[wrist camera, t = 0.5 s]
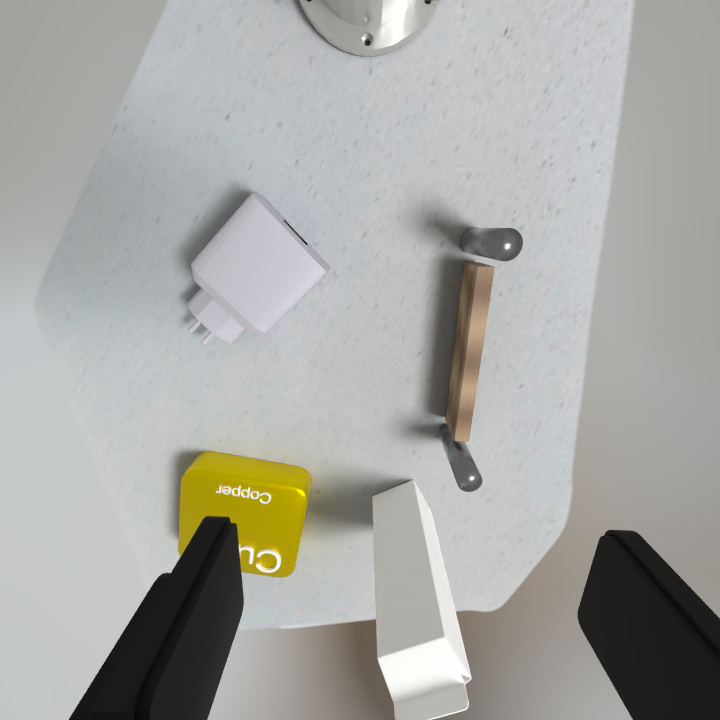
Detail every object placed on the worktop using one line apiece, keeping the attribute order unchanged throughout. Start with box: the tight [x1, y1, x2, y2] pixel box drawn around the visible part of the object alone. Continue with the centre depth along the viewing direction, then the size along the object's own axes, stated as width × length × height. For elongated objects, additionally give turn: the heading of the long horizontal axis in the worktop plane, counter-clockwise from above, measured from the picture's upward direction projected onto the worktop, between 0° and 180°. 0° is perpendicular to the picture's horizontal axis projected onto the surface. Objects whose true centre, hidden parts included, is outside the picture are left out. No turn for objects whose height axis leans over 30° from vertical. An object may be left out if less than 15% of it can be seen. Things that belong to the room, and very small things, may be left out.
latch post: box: [439, 424, 482, 492], centre depth 39 cm, size 2×2×9 cm
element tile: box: [178, 451, 312, 577], centre depth 45 cm, size 15×15×5 cm
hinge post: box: [461, 228, 523, 261], centre depth 31 cm, size 2×2×9 cm
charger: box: [187, 192, 330, 345], centre depth 35 cm, size 5×9×15 cm
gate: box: [445, 262, 494, 441], centre depth 37 cm, size 18×2×4 cm, turn 179°
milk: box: [372, 480, 471, 720], centre depth 37 cm, size 6×6×22 cm
